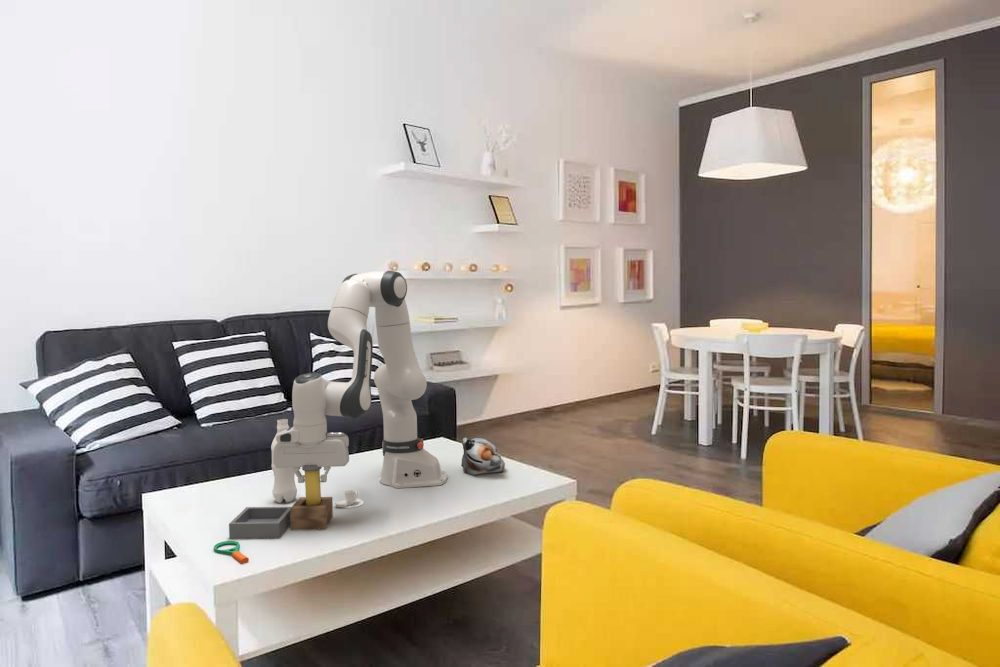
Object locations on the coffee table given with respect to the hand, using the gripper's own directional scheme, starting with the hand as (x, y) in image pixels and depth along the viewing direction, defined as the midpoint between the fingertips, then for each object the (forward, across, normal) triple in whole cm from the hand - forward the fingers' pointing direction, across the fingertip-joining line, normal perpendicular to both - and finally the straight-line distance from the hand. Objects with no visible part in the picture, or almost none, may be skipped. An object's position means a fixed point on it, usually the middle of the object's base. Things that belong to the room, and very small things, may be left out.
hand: (312, 482), depth 190 cm
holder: (+12, 0, 0) cm, 12 cm away
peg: (+8, 0, 0) cm, 8 cm away
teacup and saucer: (+13, -4, -17) cm, 21 cm away
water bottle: (+12, +14, -20) cm, 27 cm away
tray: (+12, +13, +4) cm, 18 cm away
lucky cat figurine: (+13, -47, -48) cm, 68 cm away
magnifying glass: (+12, +15, +20) cm, 28 cm away
